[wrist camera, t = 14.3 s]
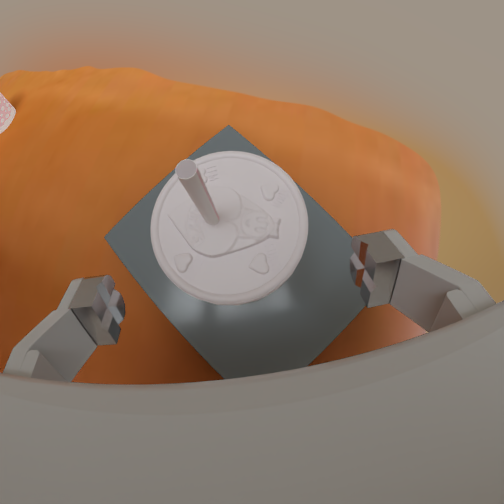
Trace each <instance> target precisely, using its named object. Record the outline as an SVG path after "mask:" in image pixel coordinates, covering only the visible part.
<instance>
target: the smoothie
mask: <svg viewBox="0 0 504 504" xmlns="http://www.w3.org/2000/svg"><path fill="white" fill-rule="evenodd" d="M150 229H151V242H152V247H153V251H154V254H155V257H156V259H157V261H158V263H159V265H160V267H161V268H162V270H163V272H164V273H165V274H166V276H167V277H168V278H169V279H170V280H171V281H172V282H173V283H174V284H175V285H176V286H177V287H178V288H180V289H181V290H183V291H184V292H186V293H187V294H189V295H191V296H193V297H195V298H197V299H199V300H203V301H206V302H209V303H213V304H216V305H241V304H245V303H249V302H253V301H257V300H260V299H262V298H263V297H265V296H267V295H269V294H270V293H272V292H274V291H275V290H277V289H278V288H279V287H280V286H281V285H282V284H283V283H284V282H285V281H286V280H287V279H288V278H289V277H290V276H291V275H292V274H293V272H294V270H295V268H296V267H297V265H298V263H299V261H300V259H301V258H302V255H303V252H304V249H305V245H306V242H307V236H308V214H307V209H306V205H305V202H304V199H303V197H302V194H301V192H300V190H299V188H298V187H297V185H296V184H295V182H294V181H293V180H292V179H291V177H290V176H289V175H288V174H287V173H286V172H285V171H284V170H283V169H281V168H280V167H279V166H277V165H276V164H275V163H273V162H271V161H270V160H268V159H266V158H263V157H261V156H258V155H255V154H252V153H248V152H241V151H222V152H216V153H211V154H208V155H205V156H202V157H200V158H197V159H195V160H190V159H185V160H182V161H181V162H179V163H178V164H177V166H176V169H175V174H174V175H173V176H172V177H171V178H170V179H169V181H168V182H167V183H166V184H165V186H164V187H163V189H162V191H161V192H160V194H159V196H158V198H157V200H156V203H155V206H154V209H153V213H152V218H151V227H150Z"/></svg>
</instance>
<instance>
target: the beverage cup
mask: <svg viewBox="0 0 504 504" xmlns="http://www.w3.org/2000/svg"><path fill="white" fill-rule="evenodd" d="M15 112H16V110H15V108H14V107H13V106H12V105H11V104H10V103H9V102H8V101H7V100H6V98H5V97H4V96H3V95H2V94H1V93H0V133H2V132H3V131H4V130H5V129H6V128H7V127H8V126H9V125H10V123H11V122H12V120H13V118H14V116H15Z"/></svg>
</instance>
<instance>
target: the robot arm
mask: <svg viewBox="0 0 504 504" xmlns="http://www.w3.org/2000/svg"><path fill="white" fill-rule="evenodd" d="M351 247H352V249H353V251H354V254H353V255H352V256H351V258H350V274H351V277H352V280H353V282H354V284H355V285H356V286H358V287H360V288H361V291H360V295H361V297H362V299H363V301H364V302H365V304H366V306H367V308H370V307H374V306H379V305H383V304H388V303H390V305H392V306H393V307H395V308H396V309H397V310H399V311H400V312H401V313H403V314H404V315H406V316H407V317H408V318H410V319H411V320H413V321H414V322H415V323H417V324H418V325H419V326H421V327H422V328H423V329H425V330H426V331H428V332H429V333H426V334H423V335H421V336H418V337H415V338H412V339H409V340H406V341H403V342H400V343H397V344H393V345H390V346H387V347H384V348H380V349H377V350H373V351H370V352H366V353H362V354H359V355H355V356H351V357H347V358H343V359H339V360H335V361H331V362H326V363H322V364H317V365H313V366H308V367H303V368H298V369H292V370H287V371H281V372H275V373H269V374H263V375H256V376H249V377H241V378H233V379H224V380H214V381H203V382H190V383H173V384H93V383H77V382H71V381H72V380H73V378H74V377H75V376H76V374H77V373H78V372H79V370H80V369H81V368H82V366H83V365H84V363H85V362H86V361H87V359H88V358H89V357H90V355H91V354H92V353H93V352H94V350H95V349H96V348H97V345H110V344H117V341H118V338H119V334H120V330H121V329H120V327H119V325H118V324H119V323H120V322H121V321H122V320H123V319H124V316H125V303H124V300H123V298H122V296H121V294H120V293H119V292H118V291H116V290H115V289H114V287H115V282H114V280H113V279H112V277H111V276H109V275H100V276H93V277H86V278H79V279H74V280H72V281H71V283H70V285H69V287H68V289H67V291H66V293H65V294H64V296H63V298H62V300H61V302H60V304H59V306H58V308H57V310H54V311H52V312H51V313H50V314H49V315H48V316H47V317H46V318H45V319H44V320H42V321H41V322H40V323H39V324H38V325H37V326H36V327H35V328H34V329H33V330H32V331H30V332H29V333H28V334H27V335H26V336H25V337H24V338H23V339H22V340H21V341H20V342H19V343H18V344H17V345H16V346H15V347H14V348H13V350H12V352H11V355H10V357H9V359H8V362H7V364H6V366H5V369H4V371H3V373H0V504H504V301H502V302H500V303H497V304H496V302H495V301H494V300H493V299H492V297H491V296H490V295H489V294H488V292H487V291H486V290H485V289H484V287H483V286H482V285H481V284H480V283H479V281H478V280H476V279H473V278H471V277H469V276H467V275H465V274H463V273H461V272H459V271H457V270H455V269H453V268H450V267H448V266H446V265H444V264H442V263H440V262H438V261H435V260H433V259H431V258H429V257H426V256H424V255H418V254H417V253H416V252H415V251H414V250H413V248H412V247H411V246H410V245H409V244H408V243H407V242H406V241H405V239H404V238H403V237H402V236H401V235H400V234H399V233H398V232H397V231H396V230H394V229H389V230H384V231H380V232H375V233H369V234H363V235H358V236H353V239H352V244H351Z"/></svg>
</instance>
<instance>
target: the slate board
mask: <svg viewBox="0 0 504 504" xmlns="http://www.w3.org/2000/svg"><path fill="white" fill-rule="evenodd" d="M222 151H241V152H248V153H252V154H255V155H258V156H261V157H263V158H266V159H268V160H270V159H269V158H268V157H267V156H265V155H264V154H263V153H262V152H261V151H260V150H258V149H257V148H256V147H255V146H254V145H253V144H251V143H250V142H249V141H248V140H247V139H245V138H244V137H243V136H242V135H241V134H239V133H238V132H237V131H236V130H234V129H233V128H232V127H231V126H230V125H228V126H227V127H225V128H224V129H223V130H222V131H220V132H219V133H218V134H216V135H215V136H214V137H213V138H211V139H210V140H209V141H208V142H206V143H205V144H204V145H203V146H201V147H200V148H199V149H198V150H196V151H195V152H194V153H193V154H192V155H190V156H189V157H188V158H187V159H190V160H195V159H197V158H200V157H202V156H205V155H208V154H211V153H216V152H222ZM270 161H271V160H270ZM271 162H272V161H271ZM175 169H176V168H175ZM175 169H174V170H173V171H172V172H171V173H170V174H168V175H167V176H166V177H165V178H164V179H163V180H162V181H161V182H160V183H158V184H157V185H156V186H155V187H154V188H153V189H152V190H151V191H150V192H149V193H148V194H147V195H146V196H145V197H143V198H142V199H141V200H140V201H139V202H138V203H137V204H136V205H135V206H134V207H133V208H132V209H131V210H130V211H129V212H128V213H127V214H126V215H125V216H124V217H123V218H122V219H121V220H120V221H119V222H118V223H117V224H116V225H115V226H114V227H113V228H112V229H111V231H110V232H109V233H108V234H107V235H106V236H105V237H104V238H105V239H106V241H107V242H108V243H109V245H110V246H111V248H112V249H113V250H114V252H115V253H116V254H117V256H118V257H119V259H120V260H121V261H122V263H123V264H124V265H125V267H126V268H127V269H128V271H129V272H130V273H131V274H132V276H133V277H134V278H135V280H136V281H137V282H138V283H139V285H140V286H141V287H142V288H143V290H144V291H145V292H146V293H147V295H148V296H149V297H150V298H151V299H152V301H153V302H154V303H155V304H156V306H157V307H158V308H159V309H160V310H161V311H162V313H163V314H164V315H165V316H166V317H167V318H168V320H169V321H170V322H171V323H172V324H173V325H174V326H175V328H176V329H177V330H178V331H179V332H180V333H181V334H182V335H183V337H184V338H185V339H186V340H187V341H188V342H189V343H190V344H191V345H192V346H193V347H194V348H195V350H196V351H197V352H198V353H199V354H200V355H201V356H202V357H203V358H204V359H205V360H206V361H207V362H208V363H209V364H210V365H211V366H212V367H213V368H214V369H215V370H216V371H217V372H218V373H219V374H220V375H221V376H222V377H223V378H224V379H233V378H241V377H249V376H256V375H263V374H269V373H275V372H281V371H287V370H292V369H298V368H303V367H307V366H308V365H309V364H310V363H311V362H312V361H313V360H314V359H315V358H316V357H317V356H318V355H319V354H320V353H321V352H322V351H323V350H324V349H325V348H326V347H327V346H328V345H329V344H330V343H331V342H332V341H333V340H334V339H335V338H336V337H337V336H338V335H339V334H340V333H341V332H342V331H343V330H344V329H345V328H346V327H347V325H348V324H349V323H350V322H351V321H352V320H353V319H354V318H355V317H356V316H357V315H358V313H359V312H360V311H361V310H362V309H363V308H364V307H365V306H366V304H365V302H364V301H363V299H362V297H361V295H360V291H361V288H360V287H358V286H356V285H355V284H354V282H353V280H352V277H351V274H350V258H351V256H352V255H353V254H354V251H353V249H352V247H351V244H352V239H353V238H352V237H351V236H350V235H349V234H348V233H347V232H346V231H345V230H344V229H343V228H342V227H341V226H340V225H339V224H338V223H337V222H336V221H335V220H334V219H333V218H332V217H331V216H330V215H329V214H328V213H327V212H326V211H325V210H324V209H323V208H322V207H321V206H320V205H319V204H318V203H317V202H316V201H315V200H314V199H313V198H312V197H311V196H309V195H308V194H307V193H306V192H305V191H304V190H303V189H302V188H301V187H300V186H299V185H298V184H297V183H296V182H295V184H296V185H297V187H298V188H299V190H300V192H301V194H302V197H303V199H304V202H305V205H306V209H307V214H308V236H307V242H306V245H305V249H304V252H303V255H302V258H301V259H300V261H299V263H298V265H297V267H296V268H295V270H294V272H293V274H292V275H291V276H290V277H289V278H288V279H287V280H286V281H285V282H284V283H283V284H282V285H281V286H280V287H279V288H278V289H277V290H275V291H274V292H272V293H270V294H269V295H267V296H265V297H263V298H262V299H260V300H257V301H253V302H249V303H245V304H241V305H216V304H213V303H209V302H206V301H203V300H199V299H197V298H195V297H193V296H191V295H189V294H187V293H186V292H184V291H183V290H181V289H180V288H178V287H177V286H176V285H175V284H174V283H173V282H172V281H171V280H170V279H169V278H168V277H167V276H166V274H165V273H164V272H163V270H162V268H161V267H160V265H159V263H158V261H157V259H156V257H155V254H154V251H153V247H152V242H151V229H150V227H151V218H152V213H153V209H154V206H155V203H156V200H157V198H158V196H159V194H160V192H161V191H162V189H163V187H164V186H165V184H166V183H167V182H168V181H169V179H170V178H171V177H172V176H173V175H174V174H175Z"/></svg>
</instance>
